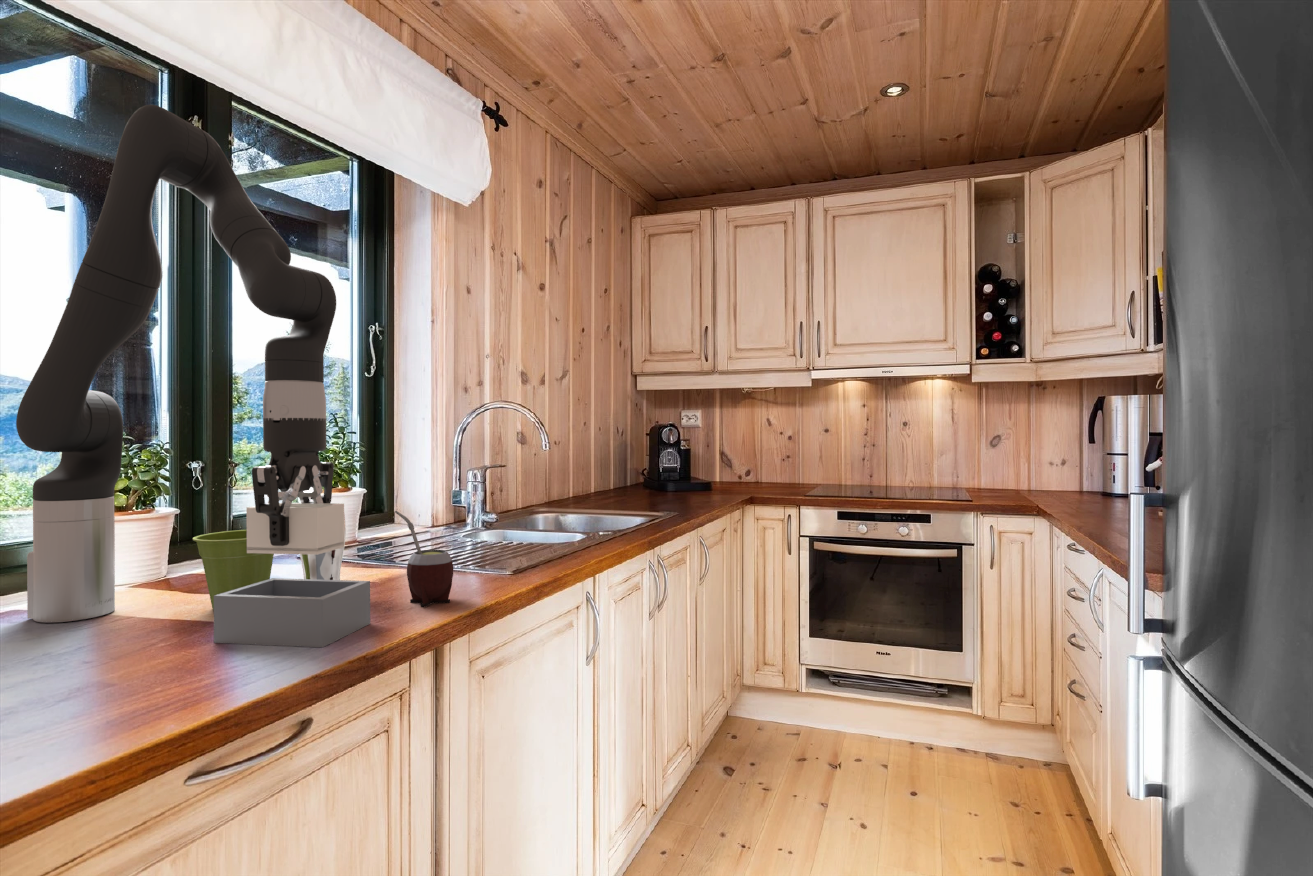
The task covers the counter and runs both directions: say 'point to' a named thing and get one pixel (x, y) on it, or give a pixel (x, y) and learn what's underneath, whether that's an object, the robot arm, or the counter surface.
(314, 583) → the slate crate
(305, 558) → the beer glass
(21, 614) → the counter surface
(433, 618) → the counter surface
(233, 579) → the plant pot
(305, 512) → the white crate
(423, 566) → the mate gourd
